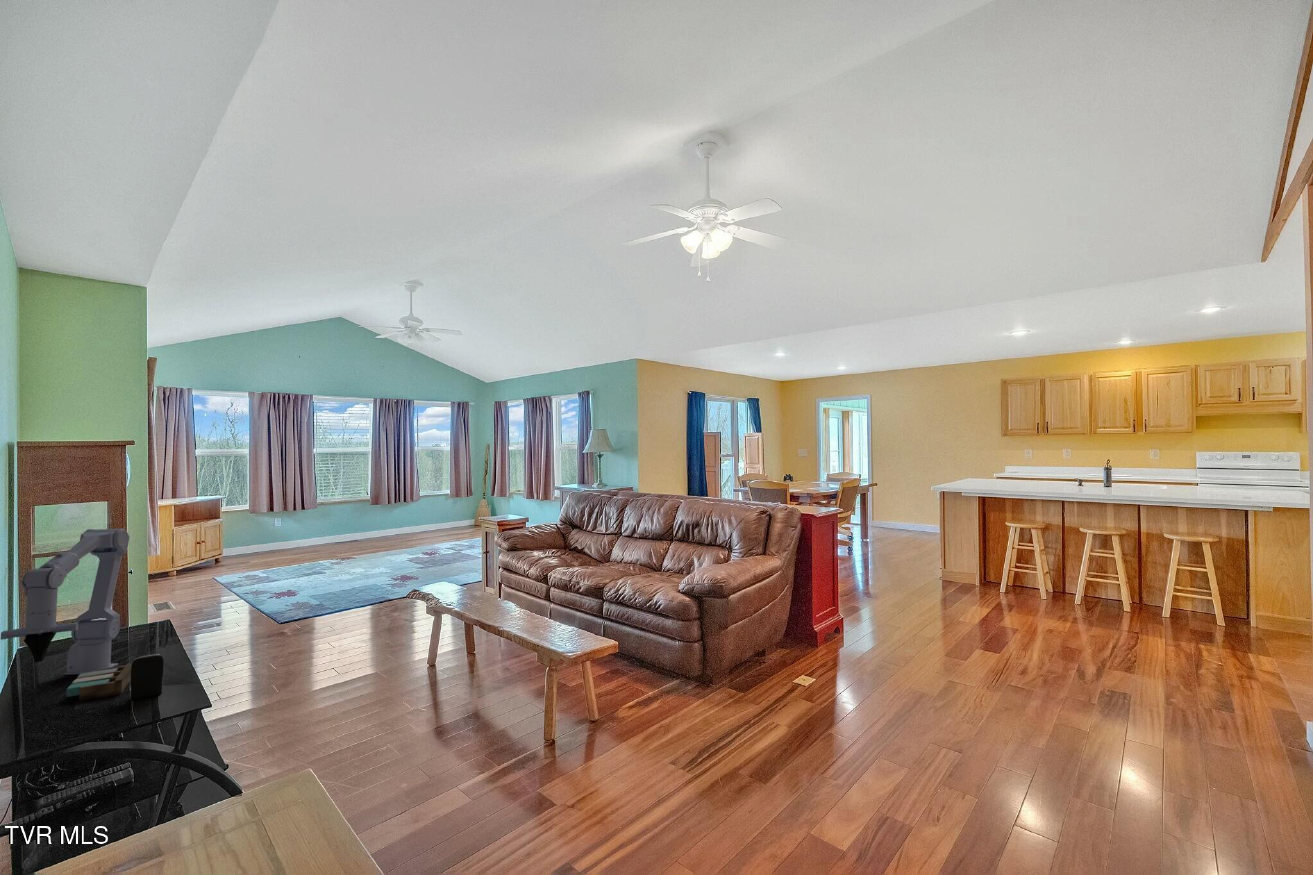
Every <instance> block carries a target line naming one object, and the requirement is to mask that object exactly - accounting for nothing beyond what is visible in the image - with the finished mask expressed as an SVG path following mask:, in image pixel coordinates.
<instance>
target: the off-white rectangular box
mask: <svg viewBox="0 0 1313 875" xmlns="http://www.w3.org/2000/svg"><path fill="white" fill-rule="evenodd" d="M108 677H114V673H113V674H106V675H99V676H93V677H86V678H80V679H77V678H76V679H74V680H73V681H72V683H71V685H73V684H80V683H85V681H89V680H95V679H102V678H108Z"/></svg>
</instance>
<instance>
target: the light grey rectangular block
mask: <svg viewBox="0 0 1313 875" xmlns="http://www.w3.org/2000/svg"><path fill="white" fill-rule="evenodd" d="M116 671H118V668H115V669H108V670H101V671H94V672H88V673H81V674H78V675H77V678H76V679H80V678H86V677H90V676H91V675H96V674H102V673H109V672H116Z"/></svg>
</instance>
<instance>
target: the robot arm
mask: <svg viewBox="0 0 1313 875" xmlns="http://www.w3.org/2000/svg"><path fill="white" fill-rule="evenodd" d="M129 543H130V535H129V533H128V531H127V530H126V529H125V528H106V529H105V528H102V529H101V528H100V529H99V528H98V529H97V528H96V529H93V528H88V529H85V531H84V532H82V533H81V534H80V538H79V541H78V542H77V543H76V544H74V546H73V547H71V548H70V549H69V550H68V551H62V552H60V551H59V552H57V553H56V554H55V556H53V557H52V558H50V559H49V560H48V561H46V562H45V563H44V564H42V565H41V566H39V567H36V568H35V567H34V568H31V569H30V570H28V571H26V572H25V574H24V575H23V577H22V580H21V581H20V585H21V587H22V589H23V590H24V592H23V593H24V596H25V597H26V612H25V614H26V615H25V627H22V628H14V629H9V630H3V631H1V632H0V640H1V641H2V640H3V641H4V640H8V639H14V638H22V637H24V639H23V642H24V644H26V646H27V647H28V649H29V651H30V652H31V655H32V657H33V661H34V663H39V662H43V661H44V660H45V656H46V653H47V650H48V648H49V647H50V646H49V645H50V644H51V642H52V640H53V639H54V637H55V636H56V634H57V633H65V632H70V634H71V636H70V637H71V638H72V641H74V642H75V643H74V644H72V645H71V646H70V647H69V649H68V652H67V657H66V658H67V662H66V663H67V664H66V671H65V672H64V673H63V675H80V674H81V673H88V672H94V671H95V670H97V669H104V668H110V667H117V666H119V663H117V662H115V663H111V659H112V656H111V655H112V640H114V639H115V638H116V637H117V636H118V634H119V633H120V629H121V623H120V619H121V614H119V613H118V612H117V611H115V610H114V609H112V605H113V602H114V601H113V600H114V597H115V591H116V586H117V581H118V579H119V578H118V576H119V574H120V569H121V568H120V567H121V563H122V559H123V556H124V555H126V554H127V551H128V547H129ZM88 554H91V555H92V556H95V557H97V558H98V559H99V561H98V566H97V571H96V575H95V578H94V579H95V580H94V583H93V584H94V585H93V589H92V591H91V592H92V593H91V597H90V600H89V605H88V609H87V610H86V611H85V612H83V613H81V614H79V615H78V616H77V617H76V618H77V619H76V621H75V622H69V623H67V622H66V623H57V611H58V610H57V609H58V608H57V607H58V606H57V605H58V590H59V589H58V588H59V587H61V586H62V585H63V584H64V580H65V579H66V578H67V575H68V574H70V572H72V571H73V570H74V569H75V568H76V567H78V566H79V564H80V560H81V559H82V558H83V557H85V556H86V555H88Z"/></svg>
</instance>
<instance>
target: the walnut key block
mask: <svg viewBox="0 0 1313 875" xmlns="http://www.w3.org/2000/svg"><path fill="white" fill-rule="evenodd" d="M131 663H132V662H128V663H126V664H125V665H117V666H114V667H110V668H104V669H97V670H95V671H101V670H108V669H115V668H118V671H116V672H109V673H102V674H96V675H91V676H90V677H93V676H99V675H106V674H113V673H114V677H108V678H102V679H95V680H89V681H85V683H86V682H93V681H99V680H106V679H110V682H108V683H101V684H95V685H89V686H82V687H80V695H78V696H79V698H78V699H79V701H86V700H93V699H98V698H104V697H110V696H116V695H121V694H122V693H124V691H125V689H126V687H127V686H128V685H129V683H130V671H131Z"/></svg>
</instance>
